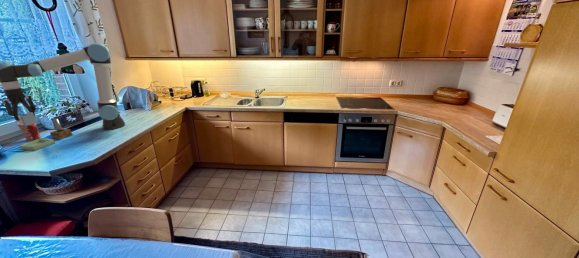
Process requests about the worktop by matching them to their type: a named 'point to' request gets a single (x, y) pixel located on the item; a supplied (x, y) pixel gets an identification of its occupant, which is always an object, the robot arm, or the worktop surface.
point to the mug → (30, 132)
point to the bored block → (61, 134)
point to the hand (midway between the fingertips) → (28, 123)
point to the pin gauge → (57, 125)
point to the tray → (37, 144)
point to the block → (28, 119)
